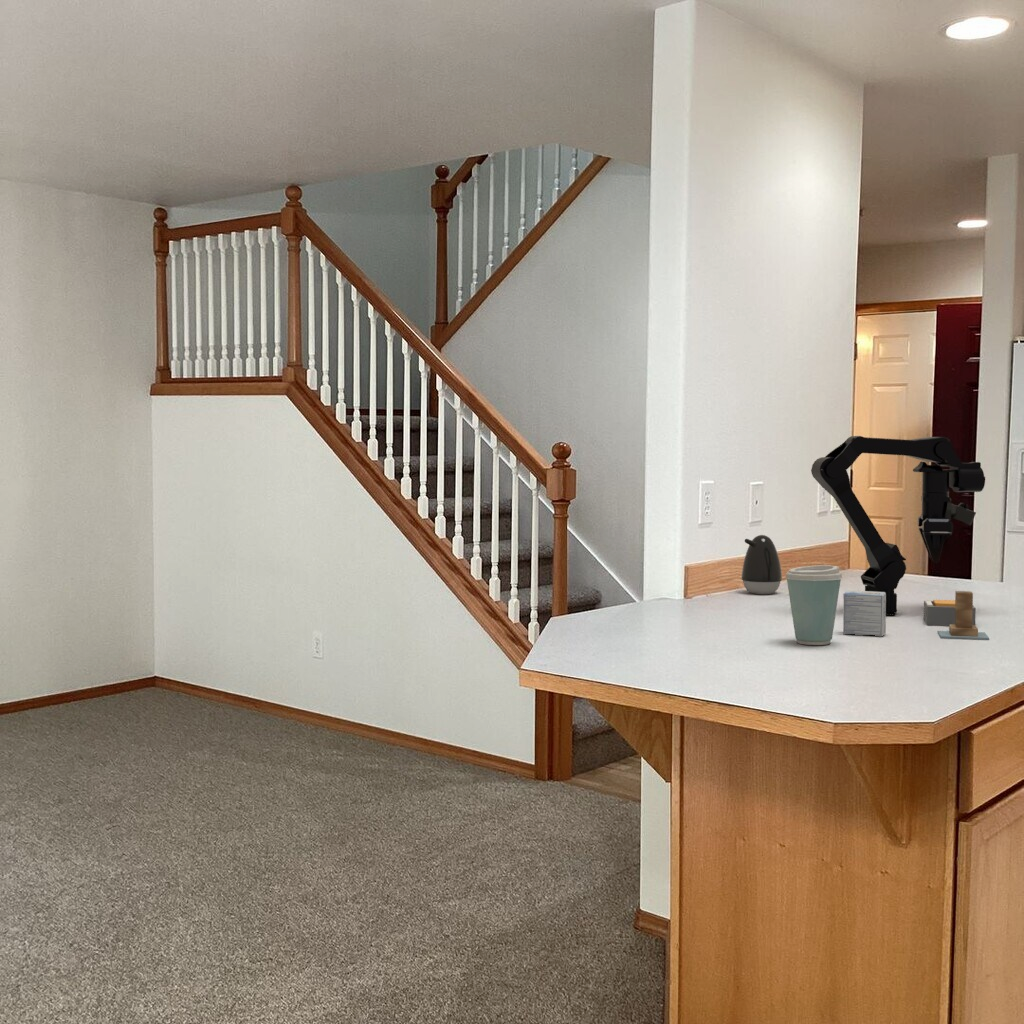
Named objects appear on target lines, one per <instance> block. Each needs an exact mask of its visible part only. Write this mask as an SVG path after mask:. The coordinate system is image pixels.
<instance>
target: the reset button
mask: <svg viewBox="0 0 1024 1024" xmlns="http://www.w3.org/2000/svg"><path fill="white" fill-rule="evenodd" d="M932 601H933V605H934V606H952V607H955V599H953V600H952V599H933V600H932Z"/></svg>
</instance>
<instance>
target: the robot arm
mask: <svg viewBox="0 0 1024 1024" xmlns="http://www.w3.org/2000/svg"><path fill="white" fill-rule="evenodd" d="M862 454H873V455H890V456H891V455H892V456H903V457H910V458H912V459H916V460H919V461H920V460H921V461H920V462H919V464H917V465H916V466H915V467H914V468H913V469H912V472H913V473H922V474H921V475H922V477H921V478H922V481H921V483H922V484H921V488H922V489H921V496H920V498H921V500H920V501H921V514H920V515H919V516H918V517H917V527H918V531H919V533H920V535H921V538H922V541H923V544H924V546H925V547H924V548H925V549H926V552H927V554H928V557H929V559H930V560H931V561H932V563H933V564H939V563H940V559H941V555H942V551H943V547H944V543H945V541H946V540H947V538H949V537H950V536H951V535H952V534H953V532H954V523H953V522H952V519H953V520H957V521H960V522H962V523H963V524H965V525H968V526H972V524H973V521H974V519H975V516H976V514H977V512H975V511H973V510H970V509H969V504H968V503H967V504H966V503H964V502H960V503H958V505H957V504H955V503H952V498H951V497H950V488H951V489H952V491H953V492H954V493H979V492H982V491H983V490H984V488H985V485H986V476H985V473H984V470H983V468H982V464H981V462H980V461H971V462H963V461H962V460H961V459H960V457H959V456H958V455H957V453H956V452H955V450H954V444H953V443H952V441H951V440H950V439H949V438H948V437H944V436H929V437H921V438H919V437H918V438H913V439H912V438H911V439H900V438H899V439H898V438H897V439H896V438H885V437H884V438H881V437H880V438H879V437H866V436H865V437H864V436H861V435H851V436H849V437H848V438H847V439H846V440H845V441H844V442H842V443H841V444H840V445H838V446H837V447H835V448H834V449H833V450H831V451H830V452H828V454H826V455H825V456H823V457H819V458H817V459H816V460H815V461H814V462H813V463H812V465H811V468H810V469H811V470H810V471H811V472H810V473H811V475H812V477H813V479H814V480H816V482H817V484H819V485H820V487H822V488H823V490H825V491H826V492H827V493H828V494H829V495H830V496H832V497H833V499H834V500H835V502H836V504H837V505H838V507H839V508H840V510H841V512H842V514H843V515H844V517H845V518H846V519H847V521H848V523H849V524H850V527H851V528H852V529H853V531H854V533H855V534H856V536H857V538H858V539H859V541H860V543H861V544H862V546H863V547H864V549H865V554H866V560H867V562H868V565H869V567H868V568H867V569H866V570H865V571H864V572H863V573H862V574H861V575H860V579H861V583H862V584H863V585H864V591H873V592H885V593H886V616H896V615H895V614H896V613H897V611H898V610H897V609H898V607H897V606H898V604H897V603H898V594H897V592H895V590H896V589H897V588H898V585H899V582H900V580H901V579H902V578H904V575H905V574H906V570H907V565H906V562H905V561H907V558H906V557H904V556H903V555H902V554H901V552H900V549H899V547H898V545H897V544H893V543H890V542H885V541H884V540H883V538H882V536H881V535H880V533H879V531H878V530H877V528H876V527H875V525H874V524H873V522H872V520H871V519H870V517H869V515H868V514H867V512H866V510H865V509H864V507H863V506H862V504H861V502H860V501H859V499H858V498H857V496H856V494H855V493H854V491H853V490H852V486H851V480H850V476H849V474H848V470H847V469H849V468H850V467H851V466H852V465H853V464H854V463H855V462H856V461H857V459H858V458H859V457H860V456H861V455H862ZM926 462H928V463H929V462H930V463H935V464H927V463H926ZM942 467H949V469H944V468H942Z"/></svg>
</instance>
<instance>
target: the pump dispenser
mask: <svg viewBox="0 0 1024 1024" xmlns="http://www.w3.org/2000/svg"><path fill="white" fill-rule="evenodd" d="M744 543H745V544H747V545H748V548H747V550H746V552H745V556H744V558H743V559H744V560H743V564H742V571H741V580H742V582H743V583H742V584H743V586H744V588H745V589H746V591H747V592H749V593H750V594H753V595H758V596H759V595H761V596H762V595H763V596H764V595H772V594H773V593H775V592H777V590H778V589H779V587H780V586H781V585H780V584H781V581H782V579H783V574H782V573H783V572H782V566H781V562H780V561H781V560H780V557H779V554H778V551H777V548H776V545H775V543H774V541H773V540H772V539H771V538H770V536H767V535H765V534H760V535H757V536H755V537H754V538H753V539H749V538H745V539H744Z"/></svg>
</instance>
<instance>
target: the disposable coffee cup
mask: <svg viewBox="0 0 1024 1024" xmlns="http://www.w3.org/2000/svg"><path fill="white" fill-rule="evenodd" d="M785 579H786V583H787V590H788V596H789V603H790V610H791V617H792V622H793V623H792V624H793V629H794V637H795V639H796V642H797V643H798V644H799V645H807V646H825V645H829V644H831V641H832V640H833V634H834V629H835V628H834V627H835V621H836V620H835V619H836V613H837V609H838V608H837V607H838V599H839V594H840V589H841V581H842V579H843V575H842V572H840V567H839V566H838V565H837V566H836V565H829V564H821V565H808V566H799V567H794V568H791V569H789V570H788V571H787V572H786V573H785Z"/></svg>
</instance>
